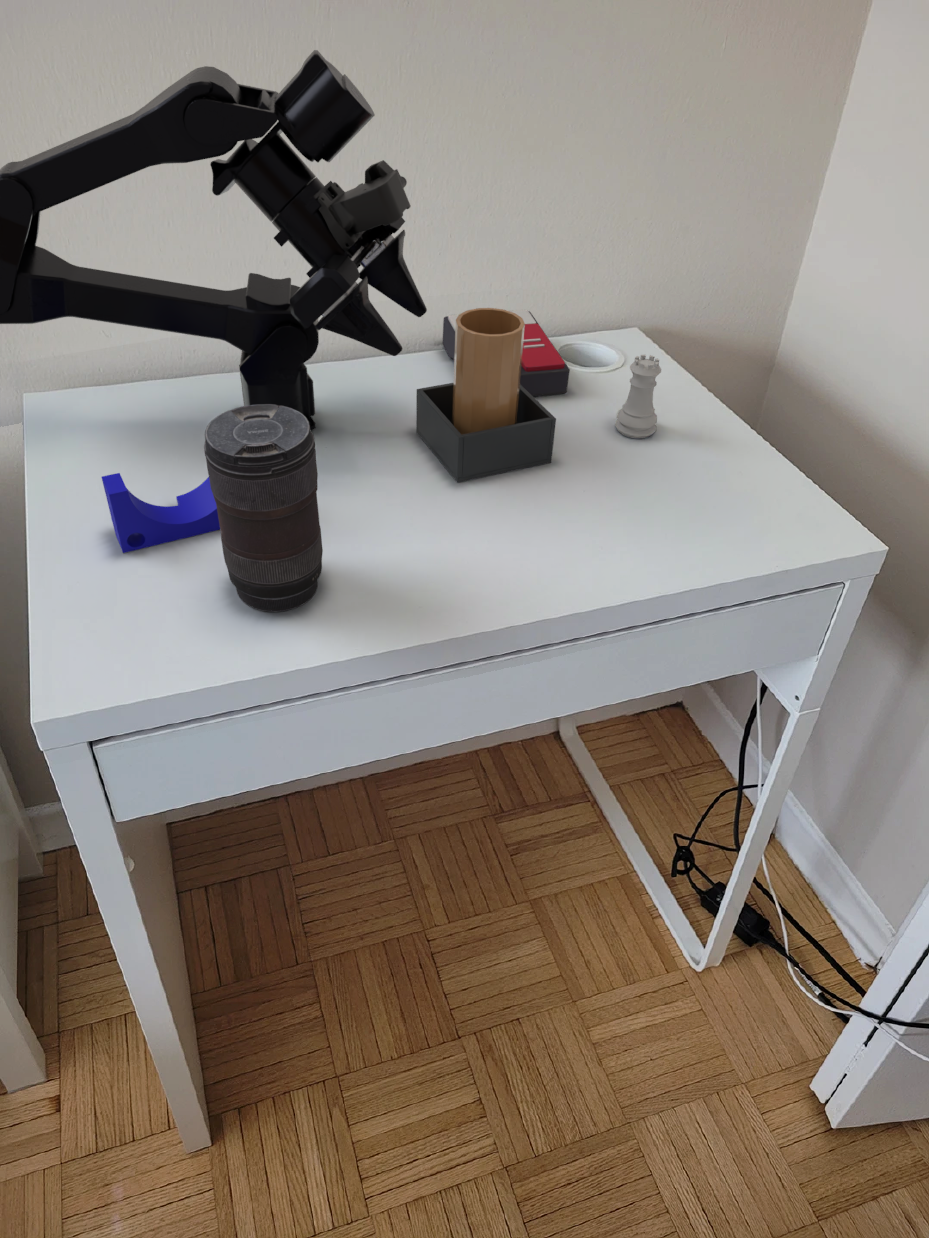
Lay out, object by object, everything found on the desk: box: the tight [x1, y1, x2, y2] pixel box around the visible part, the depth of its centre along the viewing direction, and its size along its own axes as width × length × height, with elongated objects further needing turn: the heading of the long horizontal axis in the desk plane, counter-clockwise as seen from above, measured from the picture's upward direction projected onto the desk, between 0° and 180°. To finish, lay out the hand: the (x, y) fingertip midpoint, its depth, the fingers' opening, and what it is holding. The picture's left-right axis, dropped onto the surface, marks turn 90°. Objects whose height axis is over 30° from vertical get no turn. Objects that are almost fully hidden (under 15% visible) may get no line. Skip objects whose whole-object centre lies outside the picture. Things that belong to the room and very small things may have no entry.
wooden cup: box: [452, 307, 525, 435], centre depth 93 cm, size 6×6×13 cm
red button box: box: [442, 309, 571, 397], centre depth 111 cm, size 11×4×15 cm
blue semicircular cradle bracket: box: [101, 472, 220, 554], centre depth 84 cm, size 12×4×6 cm, turn 118°
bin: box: [415, 382, 557, 483], centre depth 96 cm, size 10×10×5 cm
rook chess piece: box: [614, 354, 662, 439], centre depth 99 cm, size 4×4×8 cm
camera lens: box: [203, 404, 324, 613], centre depth 74 cm, size 8×8×15 cm
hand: (411, 332), depth 91 cm, fingers open, 9 cm apart
